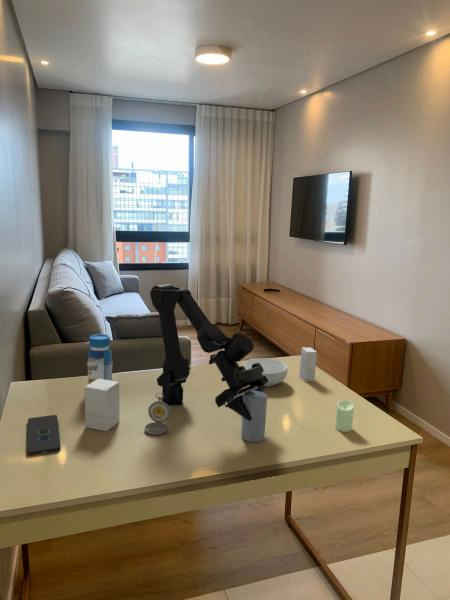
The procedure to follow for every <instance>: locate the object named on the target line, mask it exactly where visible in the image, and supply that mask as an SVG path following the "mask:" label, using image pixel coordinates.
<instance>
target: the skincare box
mask: <svg viewBox="0 0 450 600" xmlns="http://www.w3.org/2000/svg"><path fill="white" fill-rule="evenodd" d="M317 357H318V351H316V349H314V348H313V347H301V352H300V365H299V376H298V377H299V378H301V379H302V380H303V381H304V382H314V381H315V379H316V378H315V377H316V370H317V369H316V368H317V367H316V366H317V359H318V358H317ZM315 382H316V381H315Z"/></svg>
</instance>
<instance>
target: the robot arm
mask: <svg viewBox="0 0 450 600" xmlns="http://www.w3.org/2000/svg"><path fill="white" fill-rule="evenodd" d="M149 296H150V297H149V298H150V300H151V303H152V306H153V307H154V309H155V310H156V312H158V316H159V321H160V328H161V334H162V335H161V336H162V340H163V346H164V347H163V348H164V352H165V358H164V361H163V364H162V373H161V374H160V375H159V376H158V377H157V378H156V383H157V385H158V386H159V387H160V388H162V389H161V393H162V394H163V395H164V398H163V395H162V394H161V396H160V397H161V398H163V399H161V401H162V402H165V403H166V404H167V405H168V406H174V405H175V406H176V405H182V404H183V402H182V401H184V387H183V386H182V384H184V383H186V382H187V379H188V377H189V376H190V373H191V372H190V371H191V367H190V359H189V358H188V357H185V356H183V354H182V351H181V345H180V340H179V334H178V326H177V321H176V315H175V309H176V306H177V304H178V306H179V308H180V309H181V310H182V313H184V315H185V316H186V318H187V319H188V320H189V322H190V324H191V325H192V327H193V329H195V333H196V340H197V342H198V344H199V346H200V348H201V349H202V351H203V352H204V353H208V354H210V356H209V361H208V364H209V365H213V364H215V365H216V368H217V369H218V371H219V373H220V374H221V376H222V377H221V378H220V381H221V382H222V383H224V382H225V383H226V384H227V386H228V388H227V389H224V390H223V391H221V393H219V394H218V395H217V396H215V400H214V401H215V402H214V403H215V404H216V406H217V408H219V409H220V408H221V407H223V406H224V407H225V408H228V409H230V410H232V411H233V412H235V413H237V414H238V415H240V416H241V418H242V417H244V418H245V419H247V420H248V421H250V420H252V418H251V415H250V413H249V411H248V409H247V408H246V406H245V404H244V402H243V394H242V393H244V392H247V391H260V392H263V393H264V388H265V387H266V386H265V384H266V383H267V382H269V381H268V379H267V378H266V376H264V375H262V374H261V373H263V371H264V369H263V368H262V366H261V365H260V363H255V364H252V368H250V369H245V367H244V365H241V366H240V365H239V363H238V362H241V361H242V360H244V358H245V357H247V356H248V355H249V354H251V352H253V350H254V349H255V348H254V347H255V346H254V343H253V341H252V339H251V338H249V337H248V336H246V335H244V334H243V333H242V331H239V332H235V333H234V334H233V335H232V336H231V337H229V336H227V335H226V334H225V333H224V332H223V330H222V329H220V327H219V326H217V325H215V324H214V323H212V322H211V321H210V320H209V319H208V317H207V316H206V315H205V313H204V312H203V310H202V308H200V306H199V304H198V303H197V301H196V300H195V298H194V296H193V295H192V292H191V290H189V289H188V288H182V287H178V286H177V287H176V286H174V284H172V283H165V284H159V285H154V286H153V287H152V288H151V290H150V291H149ZM215 352H216V353H215ZM211 353H213V354H211ZM240 394H242V395H240Z"/></svg>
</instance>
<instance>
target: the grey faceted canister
mask: <svg viewBox="0 0 450 600" xmlns="http://www.w3.org/2000/svg"><path fill="white" fill-rule="evenodd" d="M243 402H244V404H245V406H246V408H247V409H248V411H249V413H250V415H251V418H252V420H250V421H248V420H247V419H245V418H244V417H242V416H241V425H240V426H241V427H240V436H241V439H243V440H245V441H247V442H250V443H254V442H255V443H259V442H261V441H263V440H264V439H265V435H266V434H265V433H266V420H267V419H266V418H267V408H268V407H267V405H268V395H267V394H266V393H265V392H264V391H263V392H260V391H248V392H245V393H244V395H243Z"/></svg>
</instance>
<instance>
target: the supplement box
mask: <svg viewBox="0 0 450 600" xmlns="http://www.w3.org/2000/svg"><path fill="white" fill-rule="evenodd" d="M120 418H121V417H120V382H119V381H114V380H112V381H109V380H104V379H97V380H95V381H94V382H92V383H90V384H89V385H88V384H87V385H86V386H84V419H85V422H84V423H85V428H89V429H93V430H97V431H102V432H108V431H109V430H111V428H113V427H114V426H115V425H117V424H119V422H120V421H121V420H120Z"/></svg>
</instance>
